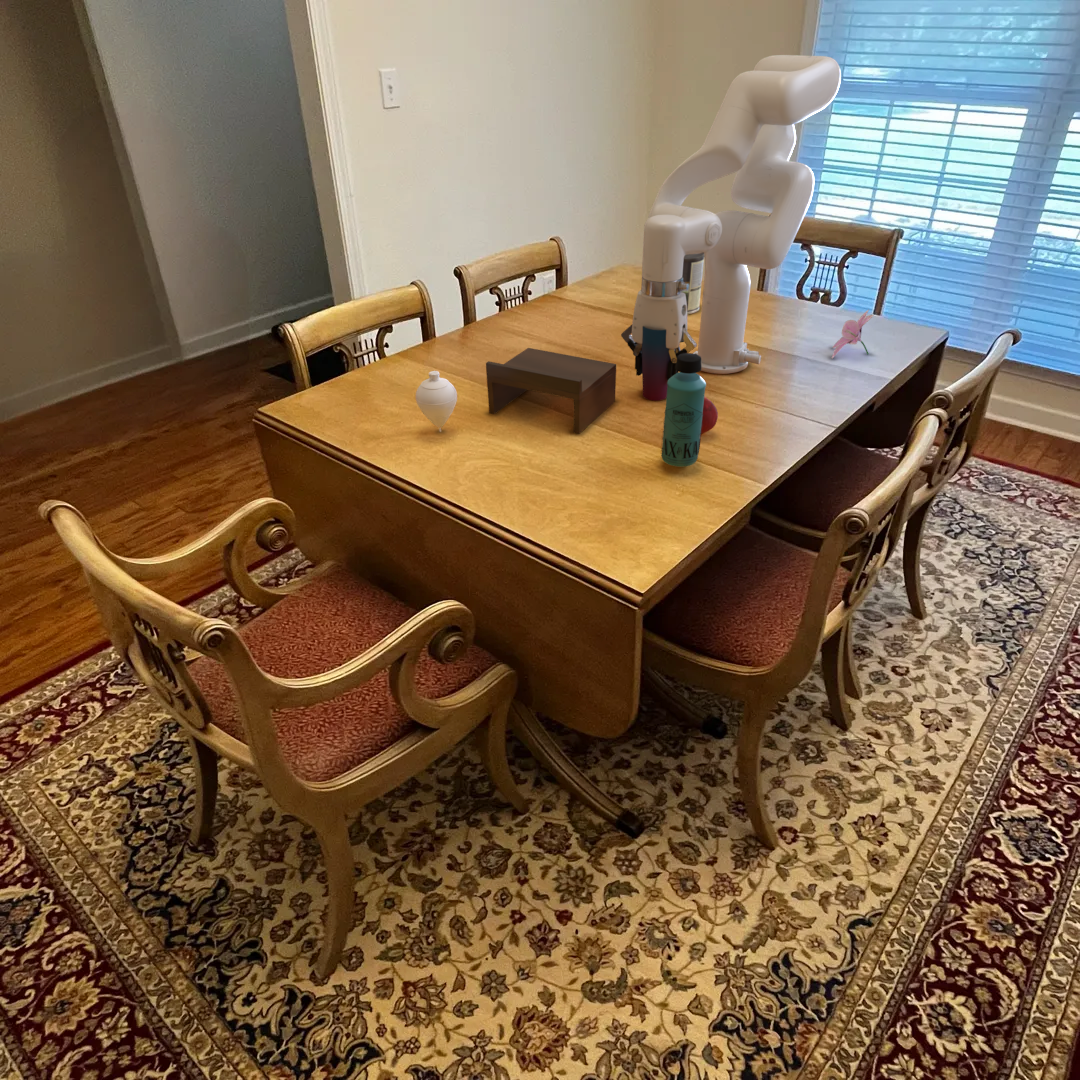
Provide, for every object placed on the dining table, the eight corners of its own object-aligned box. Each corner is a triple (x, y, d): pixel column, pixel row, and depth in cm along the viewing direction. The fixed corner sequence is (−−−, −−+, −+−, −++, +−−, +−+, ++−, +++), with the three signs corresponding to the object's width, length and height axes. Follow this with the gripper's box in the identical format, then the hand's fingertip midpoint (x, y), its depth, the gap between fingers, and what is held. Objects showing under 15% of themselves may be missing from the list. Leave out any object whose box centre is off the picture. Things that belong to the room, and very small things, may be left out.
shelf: (529, 383, 168) (527, 335, 162) (615, 401, 160) (616, 351, 154) (489, 413, 157) (485, 362, 151) (579, 434, 149) (579, 381, 143)
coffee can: (668, 316, 201) (672, 259, 193) (654, 304, 209) (657, 249, 201) (706, 312, 203) (711, 255, 195) (690, 300, 211) (695, 245, 203)
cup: (670, 403, 159) (675, 330, 150) (636, 401, 160) (639, 329, 151) (672, 389, 164) (678, 318, 156) (639, 387, 165) (643, 317, 157)
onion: (717, 429, 149) (722, 389, 144) (712, 443, 145) (717, 402, 140) (686, 425, 151) (690, 386, 146) (681, 438, 146) (684, 398, 142)
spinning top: (443, 444, 147) (437, 383, 140) (411, 435, 150) (403, 375, 143) (468, 428, 152) (463, 368, 145) (436, 419, 155) (430, 361, 148)
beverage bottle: (656, 458, 140) (663, 349, 129) (693, 455, 141) (703, 347, 129) (664, 476, 135) (672, 365, 124) (702, 474, 135) (714, 362, 124)
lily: (845, 344, 185) (831, 309, 180) (896, 335, 176) (883, 298, 172) (827, 376, 180) (812, 341, 175) (878, 368, 171) (864, 331, 166)
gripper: (712, 286, 148) (703, 376, 159) (627, 275, 156) (624, 362, 166) (698, 298, 143) (690, 391, 153) (611, 286, 150) (609, 375, 161)
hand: (656, 375), depth 159 cm, fingers closed on cup, 6 cm apart
